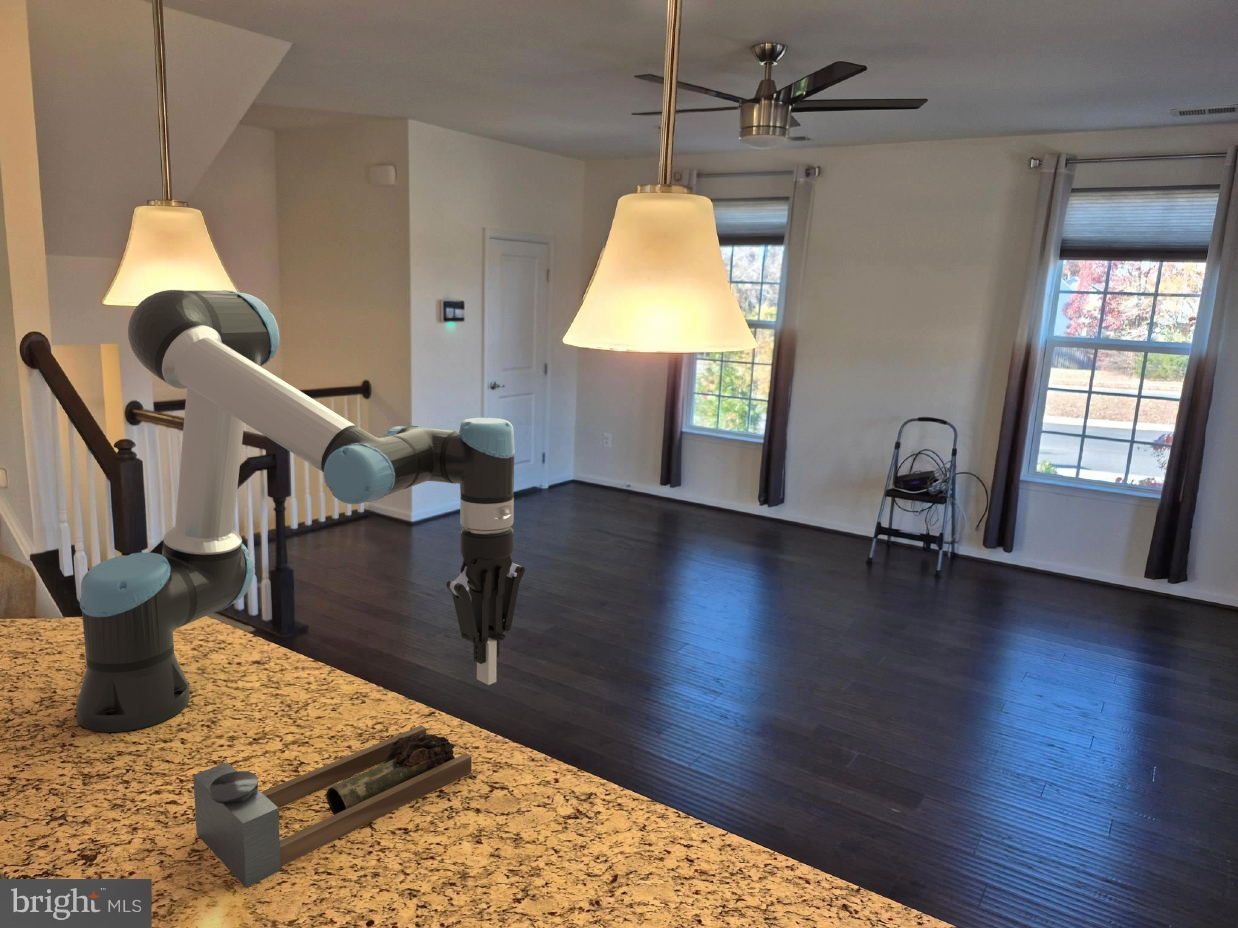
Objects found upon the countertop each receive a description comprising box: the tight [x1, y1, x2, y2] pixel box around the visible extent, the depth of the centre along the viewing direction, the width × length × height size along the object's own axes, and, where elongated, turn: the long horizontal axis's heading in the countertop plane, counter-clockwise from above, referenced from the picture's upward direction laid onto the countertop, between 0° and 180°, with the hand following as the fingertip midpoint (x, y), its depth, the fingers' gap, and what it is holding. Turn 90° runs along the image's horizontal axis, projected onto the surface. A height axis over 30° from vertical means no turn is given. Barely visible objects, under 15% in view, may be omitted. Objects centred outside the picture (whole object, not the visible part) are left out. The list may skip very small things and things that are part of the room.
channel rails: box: [260, 724, 473, 867], centre depth 109 cm, size 12×28×2 cm, turn 139°
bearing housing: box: [192, 761, 282, 889], centre depth 97 cm, size 13×5×9 cm, turn 49°
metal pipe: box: [325, 733, 456, 815], centre depth 111 cm, size 18×7×6 cm, turn 139°
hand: (486, 680), depth 123 cm, fingers closed
